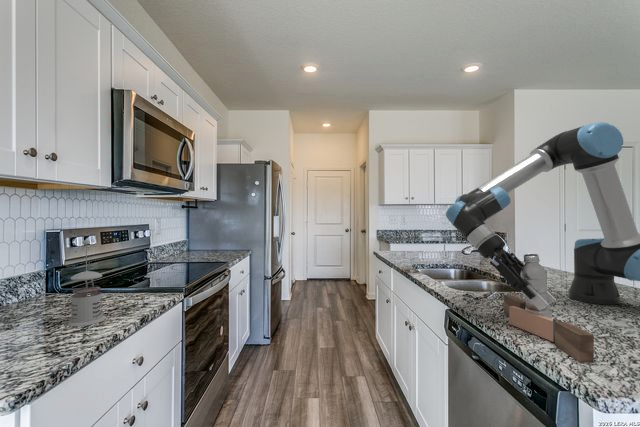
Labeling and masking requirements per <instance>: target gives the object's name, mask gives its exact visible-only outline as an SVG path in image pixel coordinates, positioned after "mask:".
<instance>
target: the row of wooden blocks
mask: <svg viewBox="0 0 640 427" xmlns="http://www.w3.org/2000/svg"><path fill="white" fill-rule="evenodd" d="M509 306H516V307H519V308H521V309H524V310H525V307H526V303H525V300H524V299H522V298H521V297H519V296H516V295H514V294H503V313H504V314H505V315H507V316H508V317H509ZM554 347H557V348H558V349H560V350H561V351H562V352H564V353H565V354H567V355H569V356H570V357H571V358H573V359H575V360H577V362H581V363H585V362H586V363H594V361H595V358H594V357H595V356H594V355H595V353H594V351H595V335H594V334H592V333H590V332H589V331H586V330H584V329H582V328H580V327H579V326H576V325H574V324H573V323H570V322H567V321H562V322H555V343H554Z"/></svg>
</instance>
